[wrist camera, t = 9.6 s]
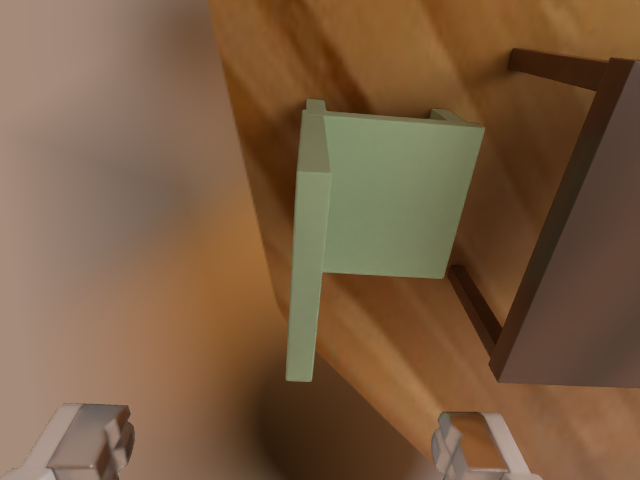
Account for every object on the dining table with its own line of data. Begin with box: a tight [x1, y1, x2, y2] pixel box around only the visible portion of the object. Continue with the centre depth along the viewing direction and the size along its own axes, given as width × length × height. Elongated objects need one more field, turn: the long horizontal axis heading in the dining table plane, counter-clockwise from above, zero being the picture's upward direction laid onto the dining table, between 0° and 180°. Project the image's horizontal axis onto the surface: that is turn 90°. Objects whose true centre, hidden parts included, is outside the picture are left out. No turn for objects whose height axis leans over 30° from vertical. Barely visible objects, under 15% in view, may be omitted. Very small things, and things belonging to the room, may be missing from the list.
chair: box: [286, 99, 485, 382], centre depth 22 cm, size 10×10×15 cm
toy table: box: [448, 48, 640, 388], centre depth 25 cm, size 14×18×11 cm
